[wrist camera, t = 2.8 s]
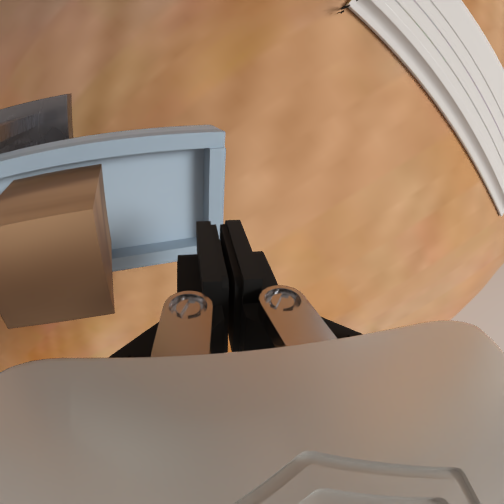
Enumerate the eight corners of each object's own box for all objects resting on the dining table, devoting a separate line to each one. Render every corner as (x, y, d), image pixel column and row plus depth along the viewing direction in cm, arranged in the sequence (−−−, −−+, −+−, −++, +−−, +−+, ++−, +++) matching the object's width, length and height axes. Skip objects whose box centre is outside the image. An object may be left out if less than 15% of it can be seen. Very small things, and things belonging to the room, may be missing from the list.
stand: (-82, 141, 12) (-136, 171, 6) (216, 82, 18) (231, 82, 11) (-55, 255, 19) (-93, 304, 12) (212, 242, 24) (223, 309, 18)
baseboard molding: (490, 221, 30) (530, 155, 26) (505, 232, 28) (546, 163, 24) (330, 17, 17) (400, -55, 13) (349, 11, 14) (420, -62, 10)
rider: (13, 180, 12) (-31, 233, 7) (101, 163, 14) (93, 208, 9) (31, 254, 14) (7, 328, 9) (111, 241, 16) (114, 313, 11)
